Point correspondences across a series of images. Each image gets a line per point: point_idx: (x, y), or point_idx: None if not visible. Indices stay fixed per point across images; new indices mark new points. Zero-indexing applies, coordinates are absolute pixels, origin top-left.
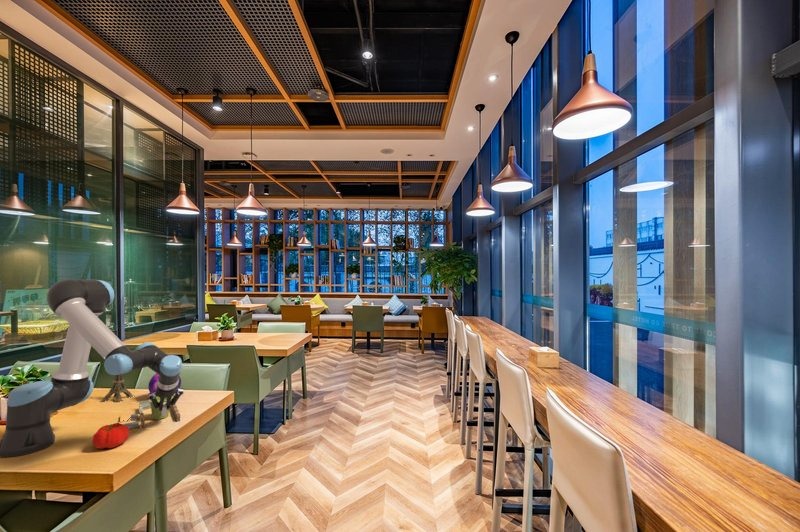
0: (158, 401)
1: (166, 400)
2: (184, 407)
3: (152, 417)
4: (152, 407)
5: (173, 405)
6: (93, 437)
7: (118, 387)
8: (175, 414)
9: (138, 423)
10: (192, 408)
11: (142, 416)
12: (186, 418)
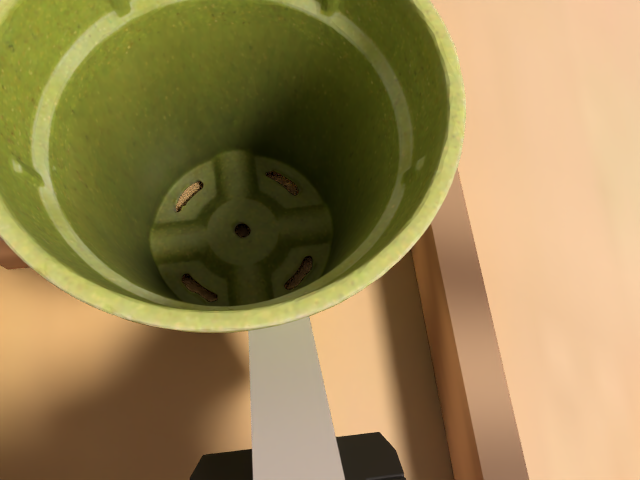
0: (191, 6)
1: (346, 296)
2: (487, 8)
3: (146, 261)
4: (87, 238)
5: None
6: None
7: None
8: (438, 325)
9: None
10: (581, 87)
11: (2, 247)
12: (578, 469)
